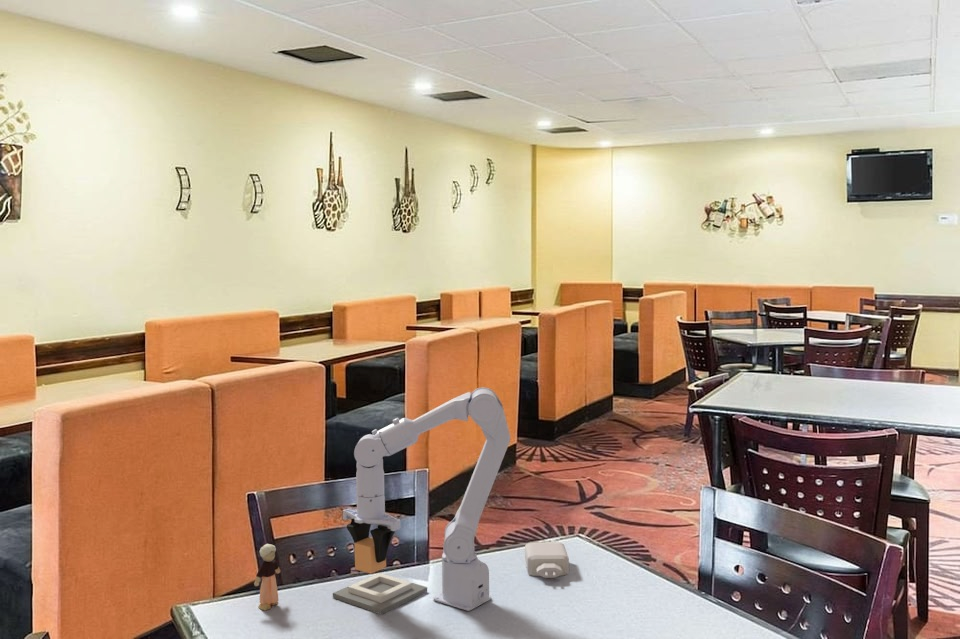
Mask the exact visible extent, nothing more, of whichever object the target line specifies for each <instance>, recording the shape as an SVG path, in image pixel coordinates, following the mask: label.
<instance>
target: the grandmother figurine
mask: <svg viewBox="0 0 960 639" xmlns="http://www.w3.org/2000/svg"><path fill="white" fill-rule="evenodd" d="M276 551H277V547H276V546H275V545H273V544H270V543H266V544H264V545H263V546H261V547H260V550H259V555H260V557H261V559H262V560H263V562H261V564H260V566H259V569H258V571H257V573H256V574H255V581H254V582H253V584H254V587H258V586H260V587H259V604H258V609H260V610H262V611H268V610H270V609H271V608H272V606H276V605H278V604H279V592H278V586H277V579H276V574H280V573H281V569H280V565H279V562H278V561H277V560H275V557H276ZM260 582H261V584H260Z"/></svg>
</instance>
